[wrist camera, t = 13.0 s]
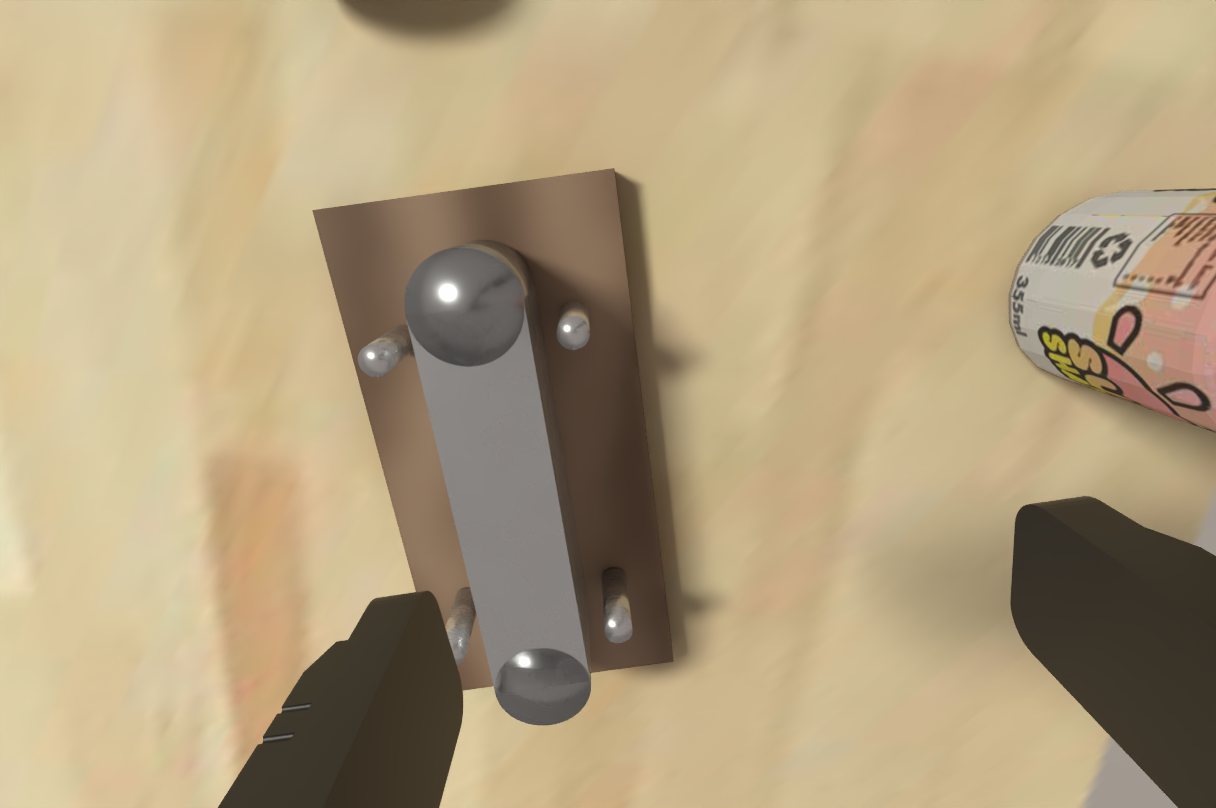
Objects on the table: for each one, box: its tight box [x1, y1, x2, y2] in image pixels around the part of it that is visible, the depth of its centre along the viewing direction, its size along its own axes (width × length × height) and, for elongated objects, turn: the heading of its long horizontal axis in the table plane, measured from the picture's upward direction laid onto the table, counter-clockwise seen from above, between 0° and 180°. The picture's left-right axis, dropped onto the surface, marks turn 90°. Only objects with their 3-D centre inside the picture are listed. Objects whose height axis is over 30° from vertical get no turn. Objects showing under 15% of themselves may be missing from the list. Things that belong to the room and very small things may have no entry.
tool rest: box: [313, 168, 673, 690], centre depth 26 cm, size 12×24×5 cm, turn 7°
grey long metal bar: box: [404, 240, 591, 725], centre depth 25 cm, size 4×20×5 cm, turn 7°
